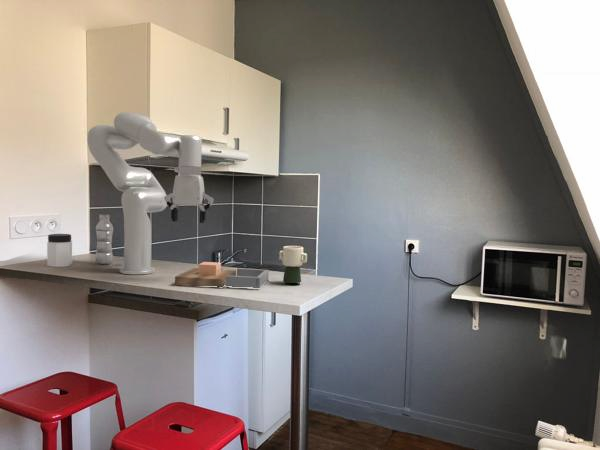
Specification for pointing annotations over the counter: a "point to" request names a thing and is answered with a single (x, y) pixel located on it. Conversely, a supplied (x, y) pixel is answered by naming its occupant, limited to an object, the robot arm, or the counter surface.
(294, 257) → the character mug
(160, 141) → the robot arm
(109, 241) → the plastic bottle
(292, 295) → the counter surface
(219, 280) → the platform
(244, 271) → the box
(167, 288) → the counter surface
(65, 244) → the jar
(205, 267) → the orange block
